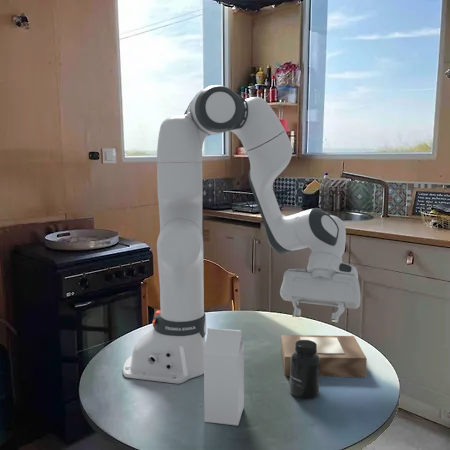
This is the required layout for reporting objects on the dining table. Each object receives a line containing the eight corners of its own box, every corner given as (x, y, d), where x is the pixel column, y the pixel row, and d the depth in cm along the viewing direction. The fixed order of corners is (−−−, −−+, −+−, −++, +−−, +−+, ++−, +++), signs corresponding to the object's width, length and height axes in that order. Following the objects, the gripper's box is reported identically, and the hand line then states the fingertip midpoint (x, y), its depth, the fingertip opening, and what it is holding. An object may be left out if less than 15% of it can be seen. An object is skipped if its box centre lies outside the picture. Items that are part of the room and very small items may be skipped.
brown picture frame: (284, 375, 114) (284, 355, 113) (280, 351, 127) (281, 333, 127) (365, 377, 112) (366, 357, 112) (353, 353, 126) (353, 334, 126)
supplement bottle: (288, 398, 103) (288, 348, 101) (291, 383, 110) (291, 336, 108) (319, 402, 101) (320, 351, 100) (320, 387, 108) (321, 339, 106)
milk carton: (238, 426, 92) (238, 337, 90) (204, 422, 94) (203, 334, 91) (244, 407, 99) (244, 324, 96) (212, 404, 101) (211, 322, 98)
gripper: (283, 261, 122) (272, 307, 114) (362, 268, 114) (356, 318, 107) (287, 273, 127) (277, 318, 119) (363, 280, 119) (357, 329, 111)
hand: (315, 318), depth 113 cm, fingers open, 8 cm apart
